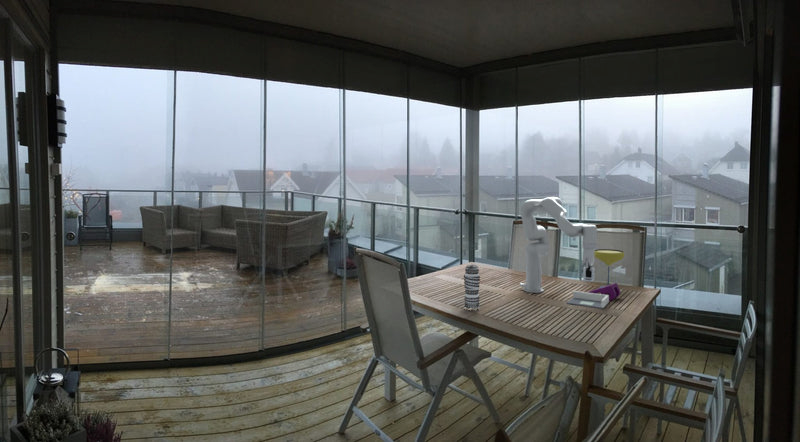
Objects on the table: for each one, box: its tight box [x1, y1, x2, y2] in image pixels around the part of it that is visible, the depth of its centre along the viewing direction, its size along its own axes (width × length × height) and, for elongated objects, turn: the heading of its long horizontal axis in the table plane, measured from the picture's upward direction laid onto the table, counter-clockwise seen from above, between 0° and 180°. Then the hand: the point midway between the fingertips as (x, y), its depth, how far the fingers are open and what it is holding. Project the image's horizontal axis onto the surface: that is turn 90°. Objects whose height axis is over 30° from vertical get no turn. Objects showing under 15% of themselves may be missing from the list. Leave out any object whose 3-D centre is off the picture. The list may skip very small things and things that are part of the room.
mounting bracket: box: [586, 282, 621, 302], centre depth 284 cm, size 9×8×18 cm
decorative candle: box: [463, 264, 481, 309], centre depth 262 cm, size 9×9×25 cm
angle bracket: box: [580, 266, 595, 282], centre depth 268 cm, size 6×6×7 cm
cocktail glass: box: [595, 248, 625, 288], centre depth 307 cm, size 18×18×25 cm
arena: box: [566, 290, 610, 310], centre depth 271 cm, size 20×15×5 cm
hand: (588, 277), depth 270 cm, fingers closed on angle bracket, 1 cm apart
